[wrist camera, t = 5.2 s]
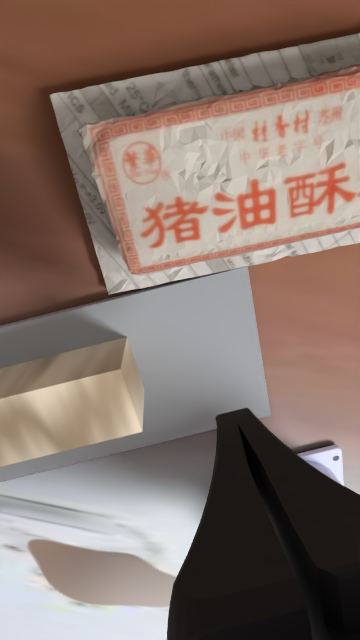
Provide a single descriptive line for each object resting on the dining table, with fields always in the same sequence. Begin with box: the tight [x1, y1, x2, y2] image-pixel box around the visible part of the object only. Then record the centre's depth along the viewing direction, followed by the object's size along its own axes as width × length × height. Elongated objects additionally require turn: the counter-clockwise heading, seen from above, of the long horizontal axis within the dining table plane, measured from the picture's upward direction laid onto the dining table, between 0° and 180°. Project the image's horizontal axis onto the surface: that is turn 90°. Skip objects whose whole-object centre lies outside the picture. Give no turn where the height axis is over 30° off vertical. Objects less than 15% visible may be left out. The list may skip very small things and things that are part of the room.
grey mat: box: [0, 266, 271, 482], centre depth 20 cm, size 11×22×1 cm, turn 103°
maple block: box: [0, 337, 145, 467], centre depth 18 cm, size 4×4×10 cm
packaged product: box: [50, 33, 360, 294], centre depth 15 cm, size 18×5×10 cm
